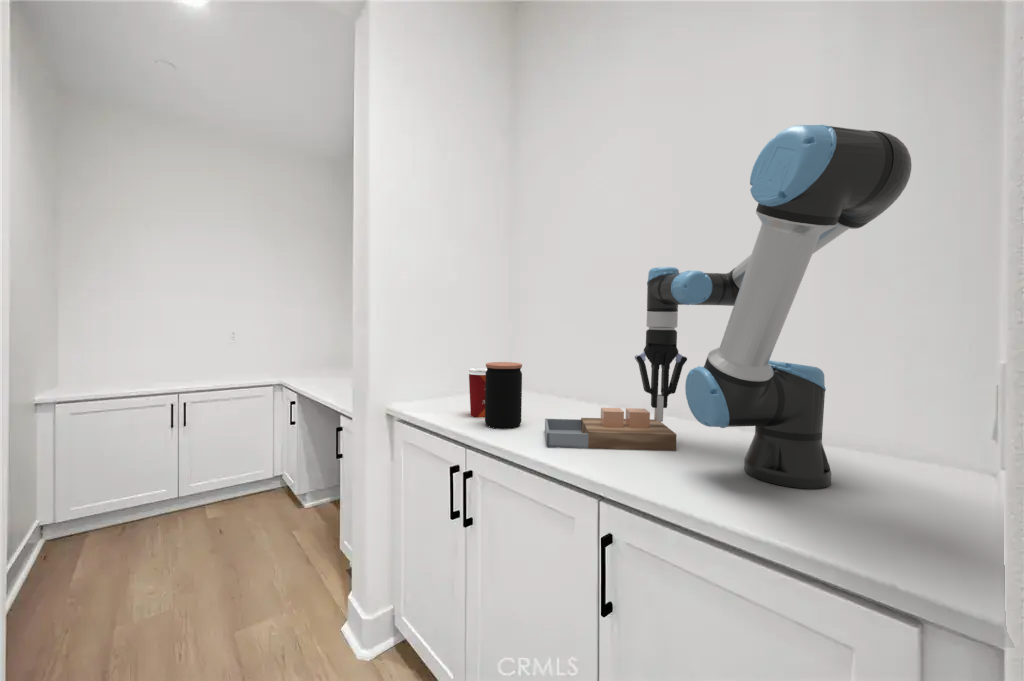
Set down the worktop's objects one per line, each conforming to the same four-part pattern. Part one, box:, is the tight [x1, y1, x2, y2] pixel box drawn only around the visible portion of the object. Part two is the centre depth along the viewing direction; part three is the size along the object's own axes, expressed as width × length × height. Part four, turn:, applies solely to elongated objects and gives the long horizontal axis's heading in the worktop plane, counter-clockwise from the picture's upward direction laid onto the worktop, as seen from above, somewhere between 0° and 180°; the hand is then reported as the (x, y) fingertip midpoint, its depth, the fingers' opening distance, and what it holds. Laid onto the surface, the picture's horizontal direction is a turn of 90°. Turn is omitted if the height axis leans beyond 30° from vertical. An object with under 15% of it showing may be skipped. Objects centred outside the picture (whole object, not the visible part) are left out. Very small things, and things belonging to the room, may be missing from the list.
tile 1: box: [600, 407, 625, 428], centre depth 118 cm, size 5×5×4 cm
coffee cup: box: [467, 367, 487, 418], centre depth 145 cm, size 8×8×15 cm
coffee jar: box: [484, 361, 523, 429], centre depth 133 cm, size 11×11×18 cm
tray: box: [544, 418, 589, 449], centre depth 118 cm, size 16×10×4 cm, turn 178°
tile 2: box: [625, 407, 651, 428], centre depth 117 cm, size 5×5×4 cm
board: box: [580, 417, 677, 452], centre depth 118 cm, size 16×21×4 cm
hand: (658, 420), depth 117 cm, fingers closed
